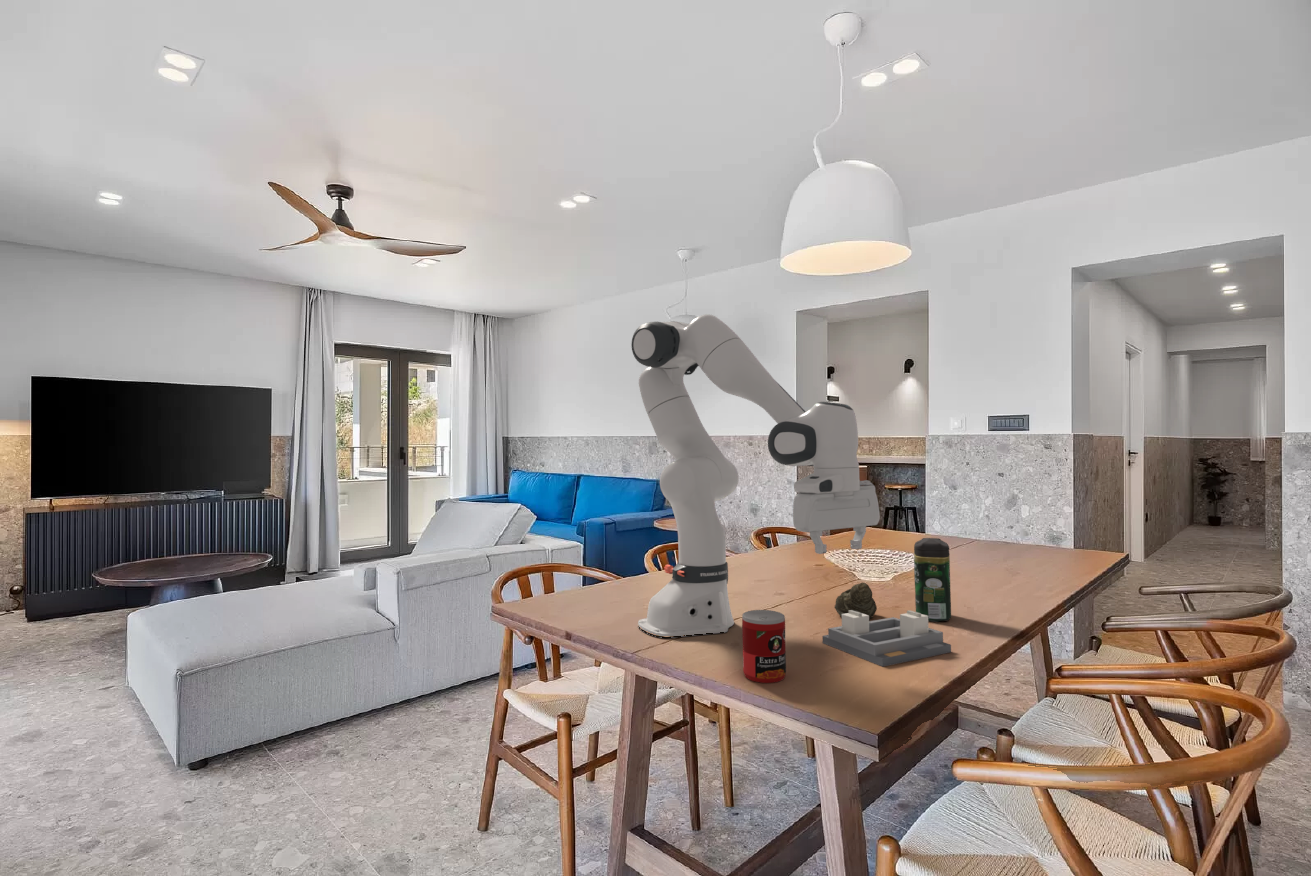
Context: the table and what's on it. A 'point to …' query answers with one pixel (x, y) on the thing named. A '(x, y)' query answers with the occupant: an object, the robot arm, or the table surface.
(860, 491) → the robot arm
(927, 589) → the coffee jar
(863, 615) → the tab far
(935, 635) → the switch bank
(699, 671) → the table surface
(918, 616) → the tab near
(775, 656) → the canned food
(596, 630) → the table surface
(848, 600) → the dark green lumpy mound
